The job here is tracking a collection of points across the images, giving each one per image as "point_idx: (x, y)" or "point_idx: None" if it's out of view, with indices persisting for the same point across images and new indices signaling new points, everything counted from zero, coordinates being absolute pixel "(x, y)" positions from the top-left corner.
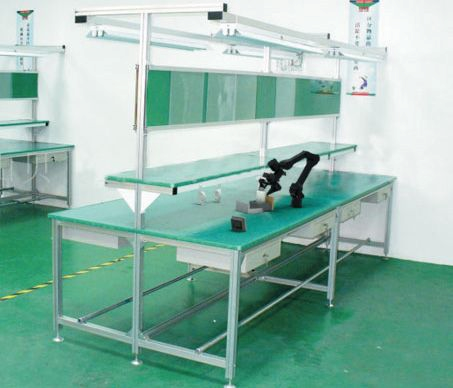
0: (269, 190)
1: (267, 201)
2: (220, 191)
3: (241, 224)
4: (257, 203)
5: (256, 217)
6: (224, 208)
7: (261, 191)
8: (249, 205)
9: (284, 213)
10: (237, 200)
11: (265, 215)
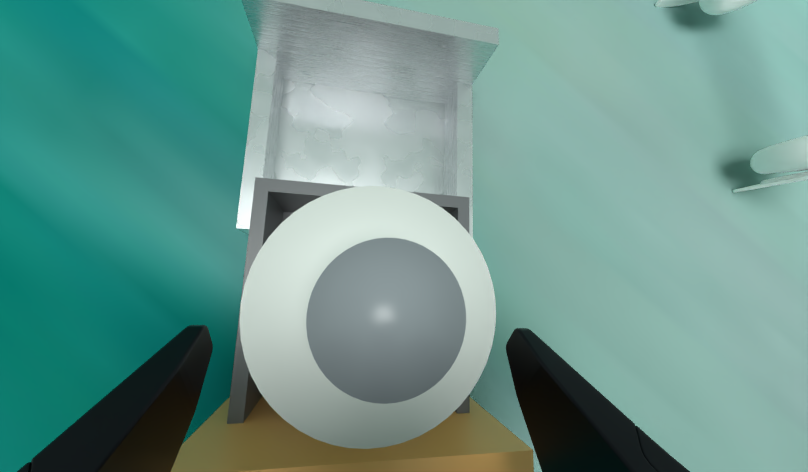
0: (50, 460)
1: None
2: None
3: None
4: (292, 181)
5: (77, 9)
6: (533, 58)
7: (312, 256)
8: (246, 11)
9: None
10: (484, 31)
11: (99, 156)
